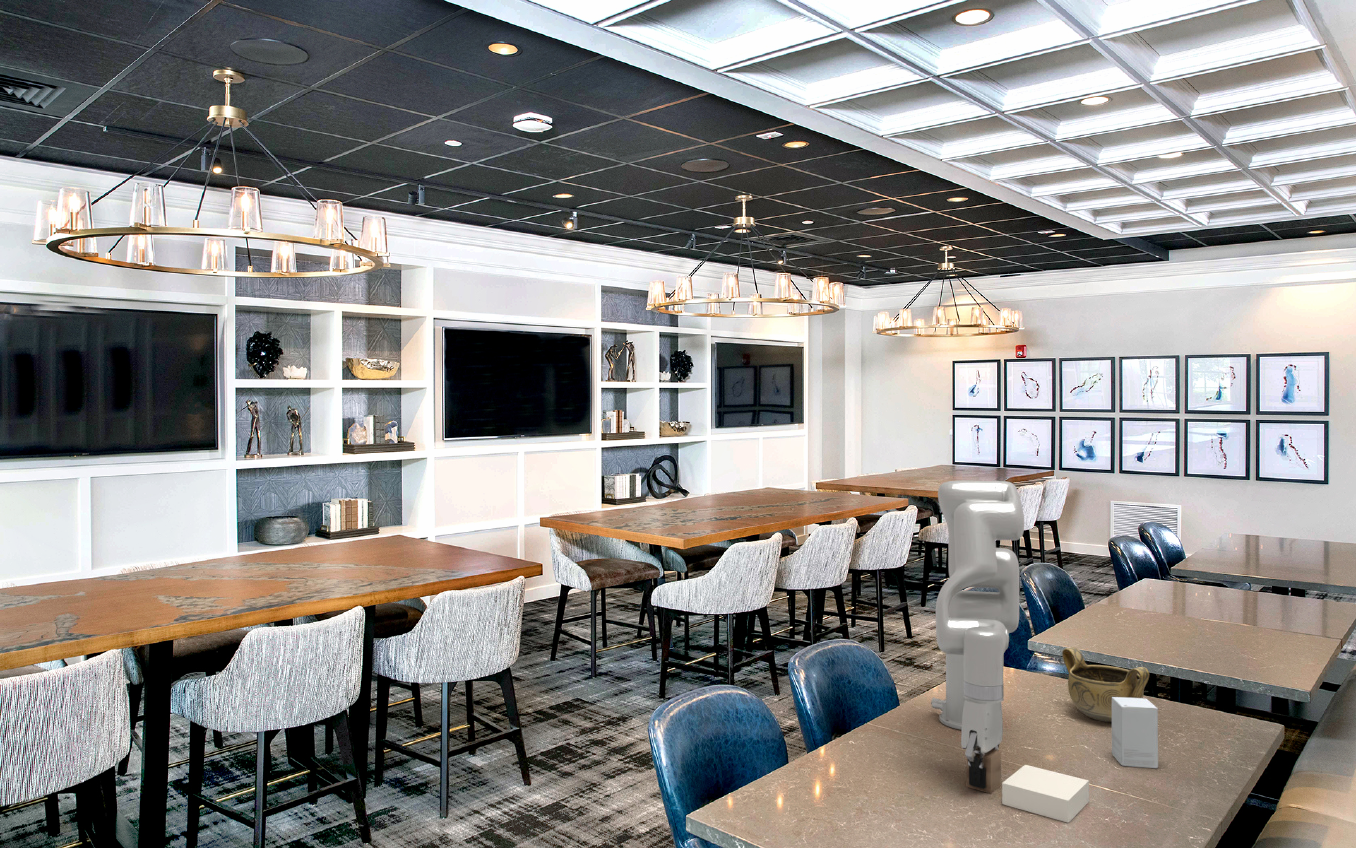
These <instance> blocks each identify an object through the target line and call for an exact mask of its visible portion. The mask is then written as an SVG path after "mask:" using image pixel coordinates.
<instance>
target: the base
mask: <svg viewBox="0 0 1356 848" xmlns="http://www.w3.org/2000/svg"><path fill="white" fill-rule="evenodd" d="M1001 786H1002V787H1001V802H1002V803H1001V804H1002V805H1005V806H1007V807H1011V808H1015V809H1019V810H1021V811H1025V812H1028V813H1032V814H1036V815H1040V816H1042V817H1046V818H1050V819H1053V820H1058V821H1060V822H1064V823H1068V824H1069V823H1070V822H1071V821H1072V820H1073V819H1074V817H1076V815H1078V814H1079V813H1080V812H1081V810H1082V809H1083V808H1084V807H1086V806H1087V804H1088V803H1089V802H1090V780H1088V779H1084V778H1081V777H1080V778H1079V777H1076V776H1073V775H1068V774H1064V773H1061V772H1056V771H1052V770H1049V769H1045V768H1040V767H1037V766H1031V765H1028V764H1024V765H1023V766H1021V767H1020V768H1019V769H1018V770H1017V771H1015V772H1014V773H1013V774H1011V775H1010V776H1009V777H1008V778H1006V779H1005V780H1004V781H1002V782H1001Z"/></svg>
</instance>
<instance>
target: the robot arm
mask: <svg viewBox="0 0 1356 848" xmlns="http://www.w3.org/2000/svg"><path fill="white" fill-rule="evenodd" d="M937 497H938V498H937V499H938V504H939V507H940V508H939V509H940V510H941V512H942V515H943V518H944V519H945V522H946V525H947V530H948V556H947V557H948V576H949V577H948V579H947V580H946V582H944V584H943V586H942V587H941V588H940V591H939V592H938V595H937V599H936V601H935V635H936V643H937V646H938V648H939V650H940V651H942V653H945V699H940V698H937V697H932V698H931V700H930V701H931V702H930V704H931V708H932V709H936V710H940V714H939V721H940V723H942V724H943V725H944V726H947V727H948V728H952V729H955V730H961V739H960V747H961V748H962V749H963V750H965V752H964V754H965V758H966V757H967V759H968V765H969V784H970V785H971V786H974V787H978V788H982V789H985V788H986V768H984V762H985V754H986V753H987V752H988V751H990V750H991V749H996V750H999V747H1000V744H1001V743H1002V741H1003V731H1004V729H1003V727H1004V725H1003V723H1004V722H1003V709H1002V708H1003V707H1002V705H1003V704H1002V702H1003V701H1005V699H1004V696H1005V695H1004V694H1005V693H1004V690H1005V687H1004V686H1005V685H1004V684H1005V683H1004V665H1005V664H1004V661H1005V660H1004V656H1005V655H1004V653H1005V652H1006V650H1008V649H1009V648H1008V647H1009V642H1010V636H1009V634H1010V633H1014V632H1015V631H1016V630H1017V628H1018V627H1019V622H1020V621H1019V620H1020V566H1019V565H1020V564H1019V560H1018V557H1017V554H1016V553H1015V552H1014V551H1013V550H1011V549H1008V548H1004V547H997V544H996V543H997V542H996V541H1018V540H1020V539H1021V538H1022V537H1023V535H1024V531H1025V515H1024V509H1023V505H1022V502H1021V499H1020V495H1019V492H1018V488H1017V487H1016V485H1015V484H1014V483H1013V482H1010V481H1006V480H1005V481H1004V480H975V479H974V480H973V479H972V480H969V479H968V480H967V479H964V480H962V479H961V480H949V481H945V482H943V483H941V484H940V485H939V486H938V491H937ZM968 588H986V589H997V590H998V591H997V592H996V591H995V592H994V591H992V592H991V591H979V590H978V591H975V590H964V589H968ZM976 747H978V748H981V750H980V751H978V750H975V749H976ZM975 753H976V754H980V760H979V758H978V757H977V756H975Z"/></svg>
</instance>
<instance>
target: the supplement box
mask: <svg viewBox="0 0 1356 848" xmlns="http://www.w3.org/2000/svg"><path fill="white" fill-rule="evenodd" d="M1158 710H1159V709H1158V707H1157V706H1156V705H1154V704H1153V703H1152V702H1151V701H1150V700H1149V699H1147V698H1145V697H1143V698H1126V697H1112V722H1111V754H1112V756H1113V757H1114V758H1115V760H1116V761H1118V763H1119V764H1120V765H1121V766H1123V767H1135V768H1146V769H1147V768H1148V769H1149V768H1151V769H1158V768H1159V740H1158V739H1159V718H1158V717H1159V714H1158Z"/></svg>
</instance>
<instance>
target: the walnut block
mask: <svg viewBox="0 0 1356 848" xmlns="http://www.w3.org/2000/svg"><path fill="white" fill-rule="evenodd" d="M975 750H978V751H980V750H981V748H978V747H976V749H975ZM975 756H977V757H978V758H979V760H980V754H976V753H975ZM965 759H966V763H965V766H966V768H965V769H966V770H965V771H966V778H965V779H966V783H965V784H966V786H965V787H966V788H970V789H973V790H976V791H980V792H985V793H988V794H993V793H994V792H996V791H997V790H998V789H999V788H1000V787H1001V786H1002V750H1000V749H998V750H996V749H991V750H990V751H988V752H987V753H986V754H985V762H984V768H986V788H985V789H982V788H978V787H974V786H971V785H970V784H969V765H968V759H967V757H966V756H965Z"/></svg>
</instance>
